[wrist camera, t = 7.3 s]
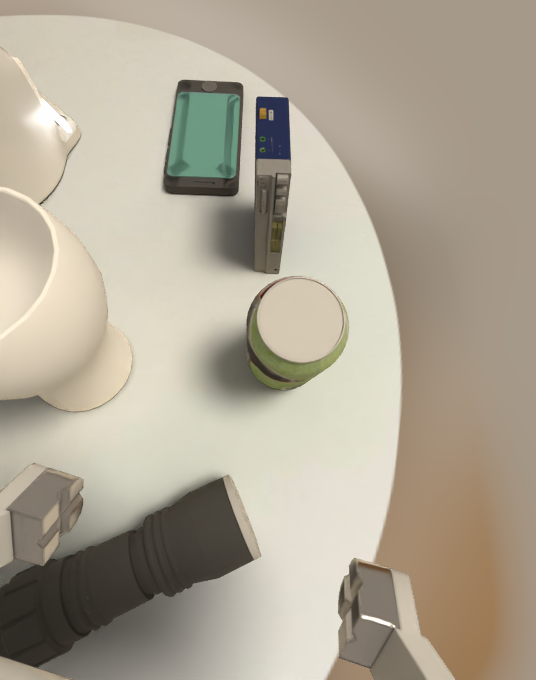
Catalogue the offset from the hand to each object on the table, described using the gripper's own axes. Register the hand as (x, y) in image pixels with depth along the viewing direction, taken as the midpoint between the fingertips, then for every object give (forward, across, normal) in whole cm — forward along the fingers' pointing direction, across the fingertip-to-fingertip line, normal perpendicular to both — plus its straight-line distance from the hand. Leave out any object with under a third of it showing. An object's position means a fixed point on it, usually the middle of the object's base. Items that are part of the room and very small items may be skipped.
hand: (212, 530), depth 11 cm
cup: (+18, +15, +8) cm, 25 cm away
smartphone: (+37, +13, -11) cm, 41 cm away
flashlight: (+10, +5, +16) cm, 20 cm away
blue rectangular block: (+29, +4, -3) cm, 30 cm away
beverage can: (+21, -1, +5) cm, 22 cm away
